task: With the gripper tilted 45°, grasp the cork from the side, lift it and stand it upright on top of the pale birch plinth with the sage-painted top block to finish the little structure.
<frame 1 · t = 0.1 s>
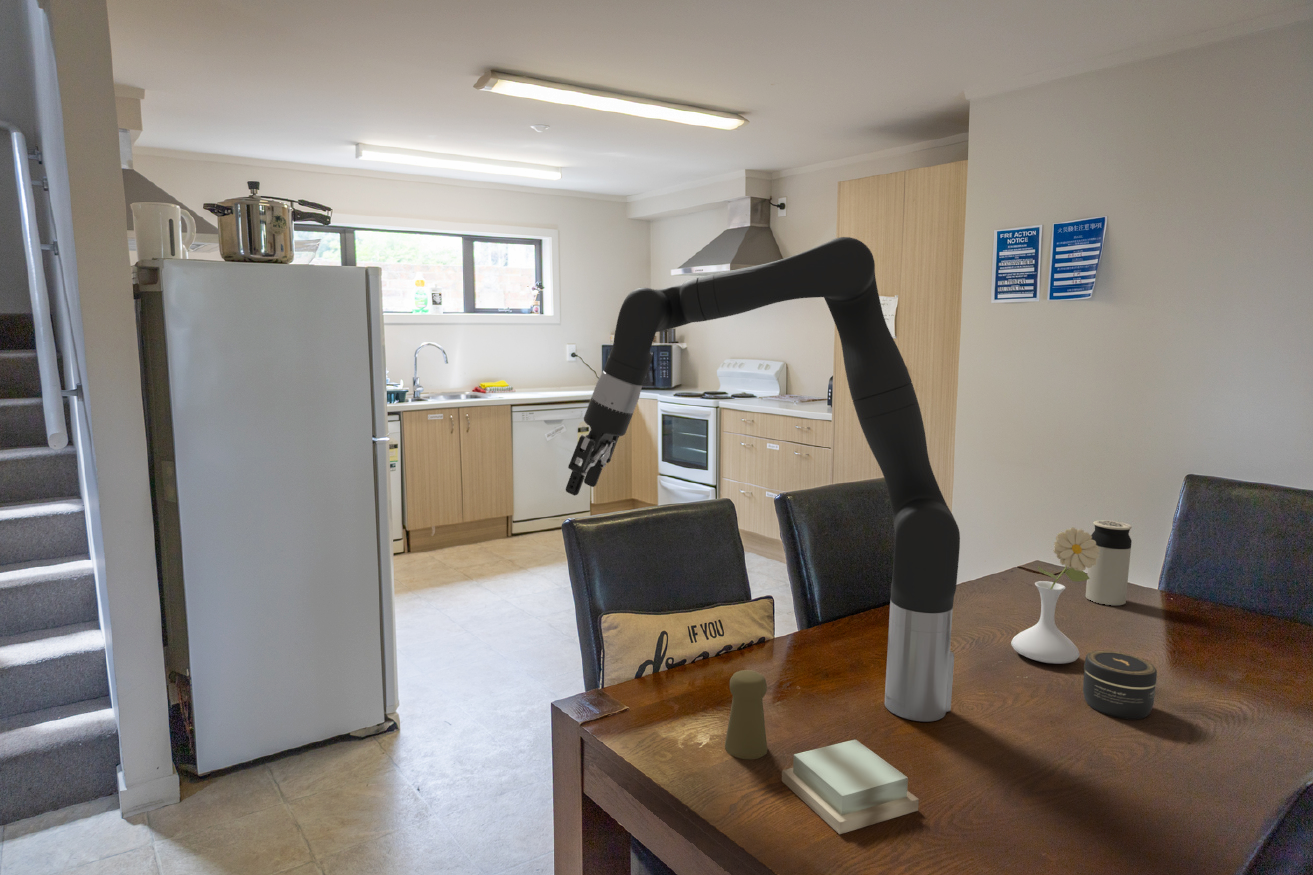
hand: (580, 489, 133), 31 cm above the table, tool tilted 20°, fingers open, 8 cm apart
plinth: (847, 795, 98), on the table
jar: (1116, 708, 124), on the table
cork: (745, 749, 109), on the table
flower in vase: (1048, 658, 143), on the table
travel mug: (1105, 601, 176), on the table
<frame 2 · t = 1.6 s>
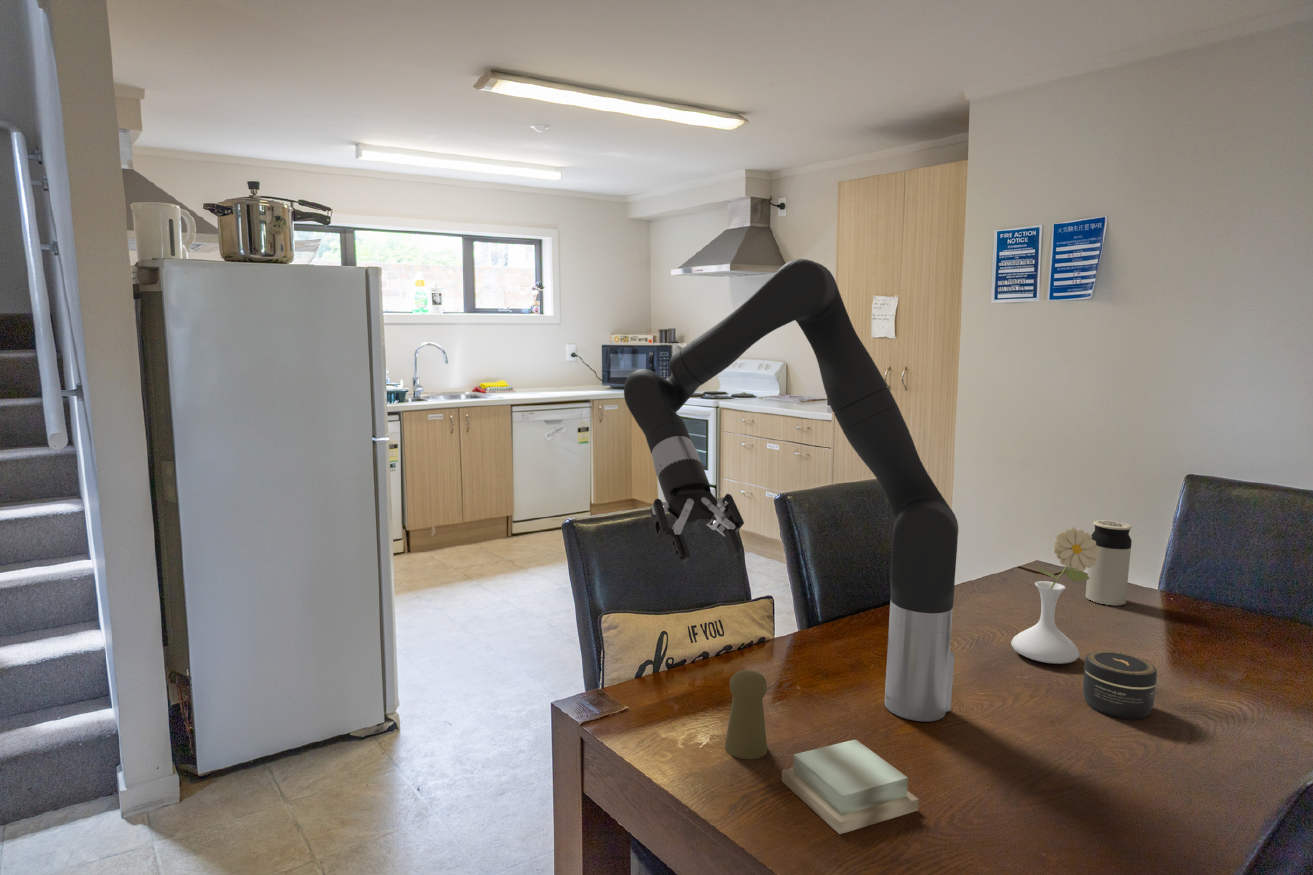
hand: (711, 557, 116), 25 cm above the table, tool tilted 45°, fingers open, 8 cm apart
nothing on the table moved.
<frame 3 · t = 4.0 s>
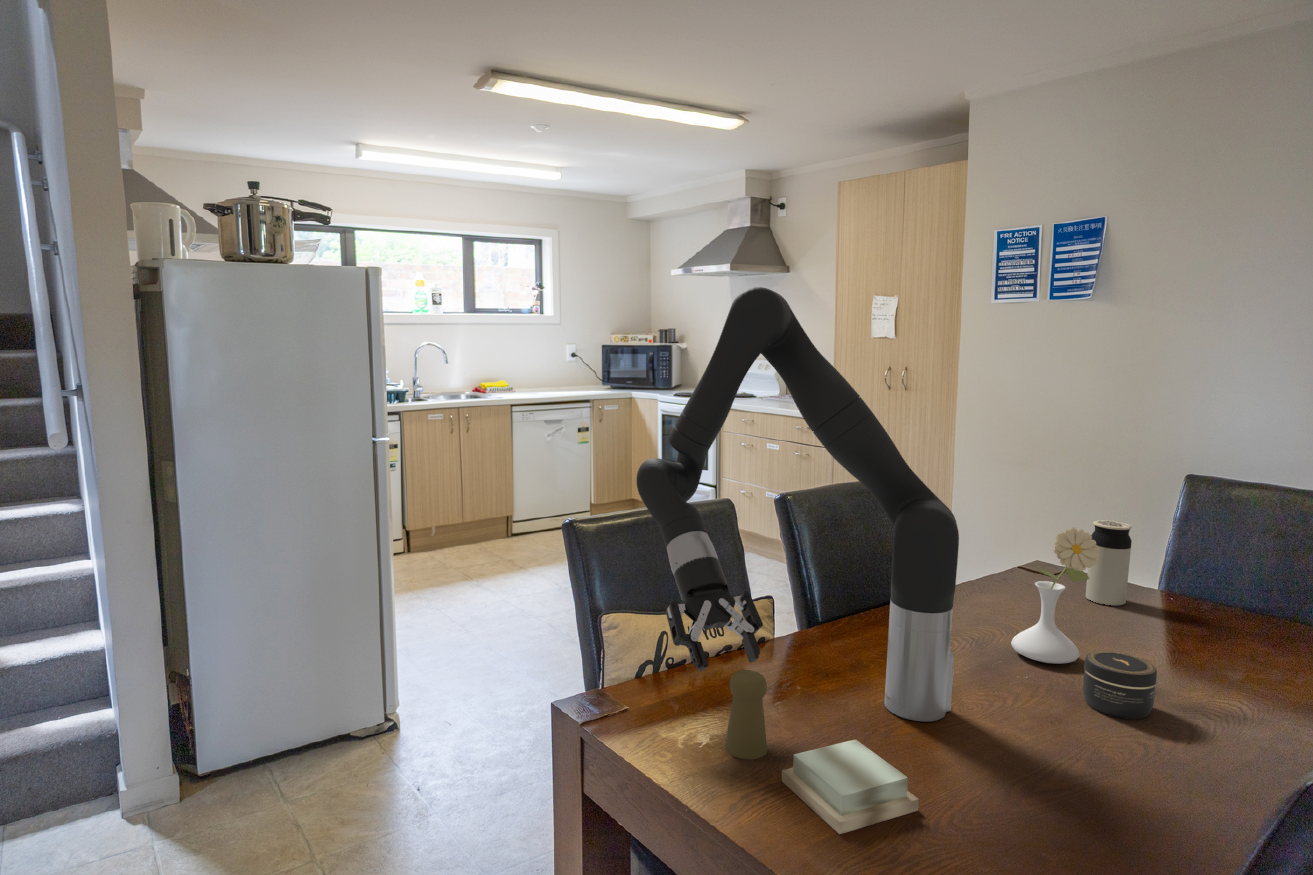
hand: (729, 664, 112), 10 cm above the table, tool tilted 45°, fingers open, 8 cm apart
nothing on the table moved.
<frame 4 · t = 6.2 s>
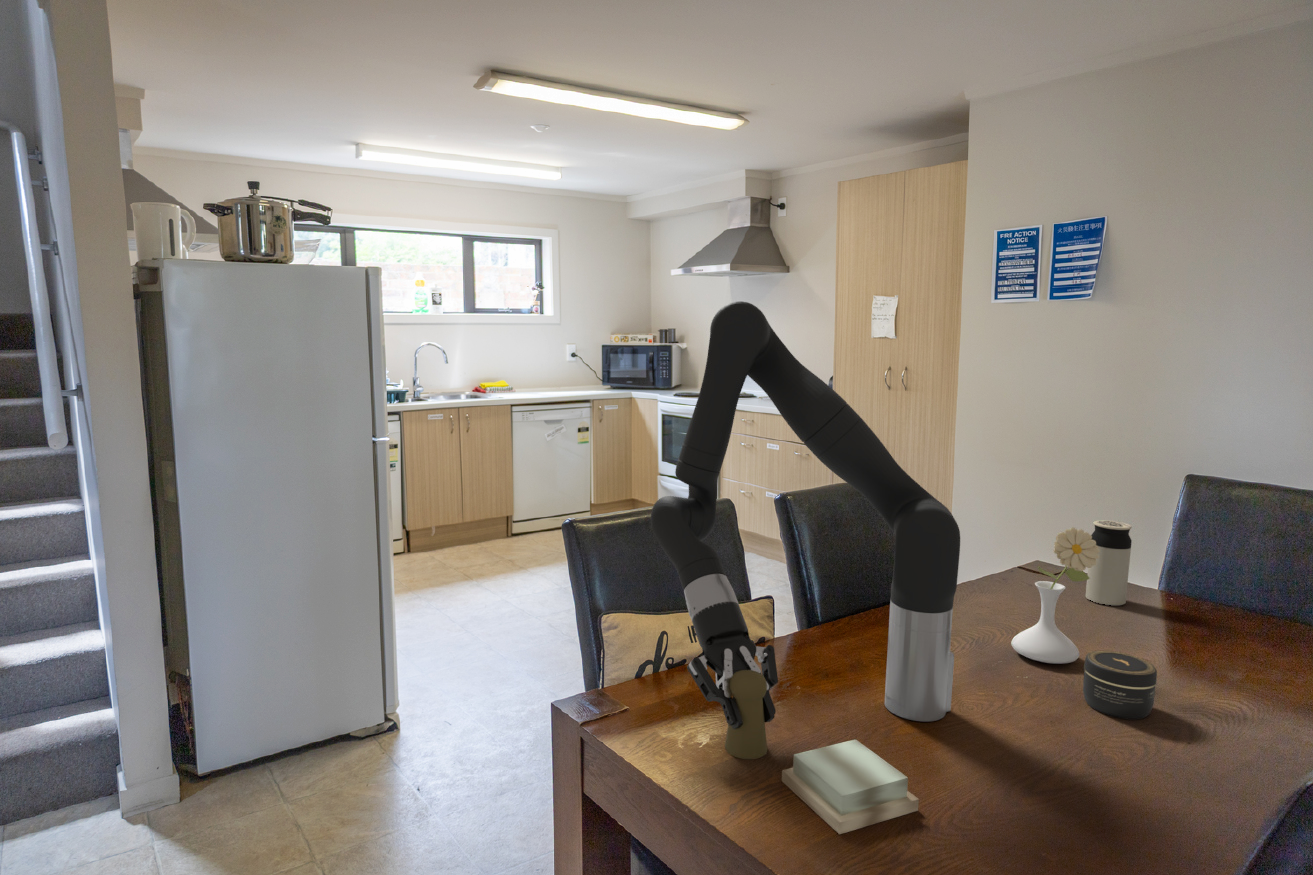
hand: (754, 722, 107), 5 cm above the table, tool tilted 45°, fingers closed on cork, 4 cm apart
cork: (745, 749, 109), on the table, touching gripper
everything else where it was.
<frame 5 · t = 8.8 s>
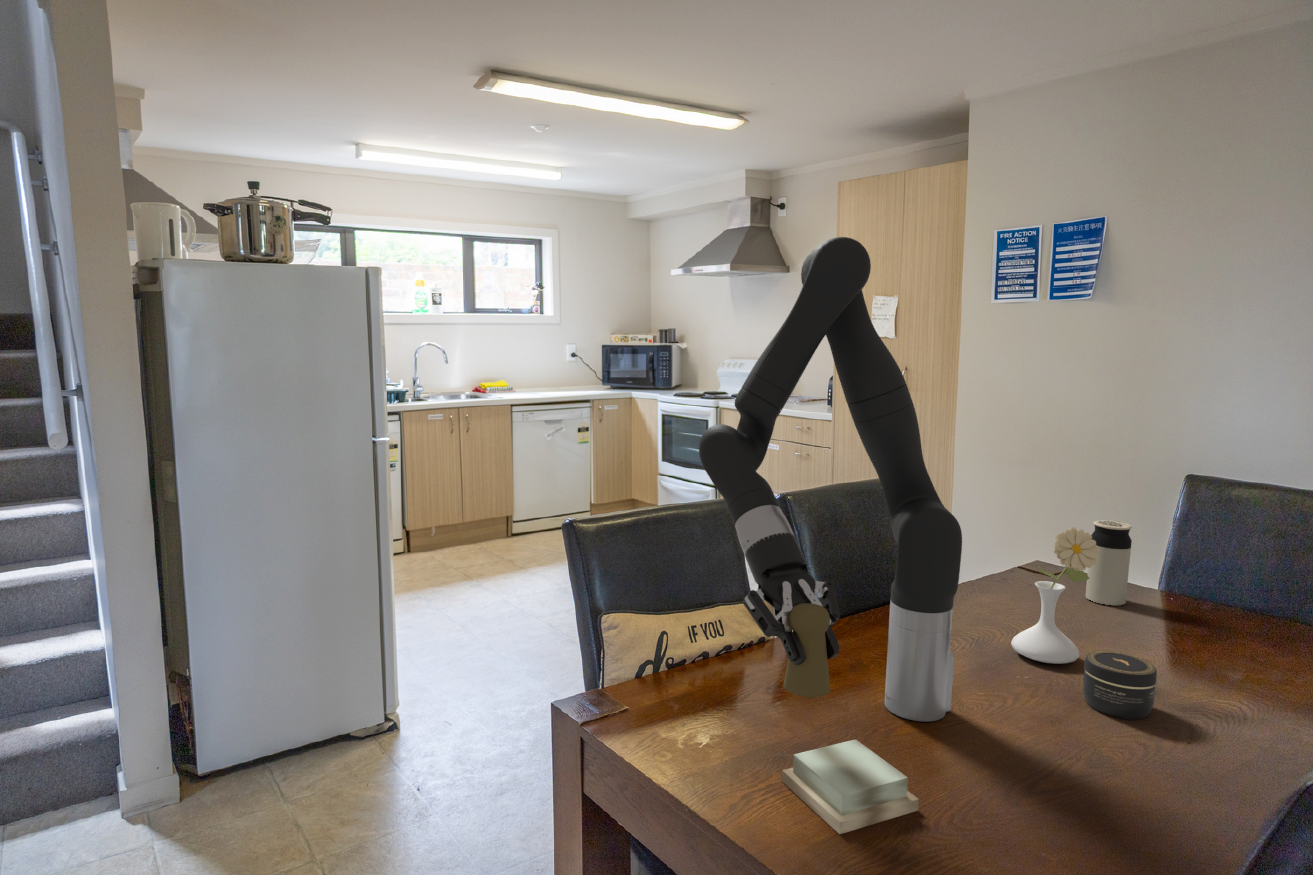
hand: (817, 658, 99), 17 cm above the table, tool tilted 45°, fingers closed on cork, 4 cm apart
cork: (806, 688, 101), point 12 cm above the table, touching gripper
everything else where it was.
when the fingers open (10 cm above the table, at t = 11.4 s): cork drops 1 cm, resting on plinth.
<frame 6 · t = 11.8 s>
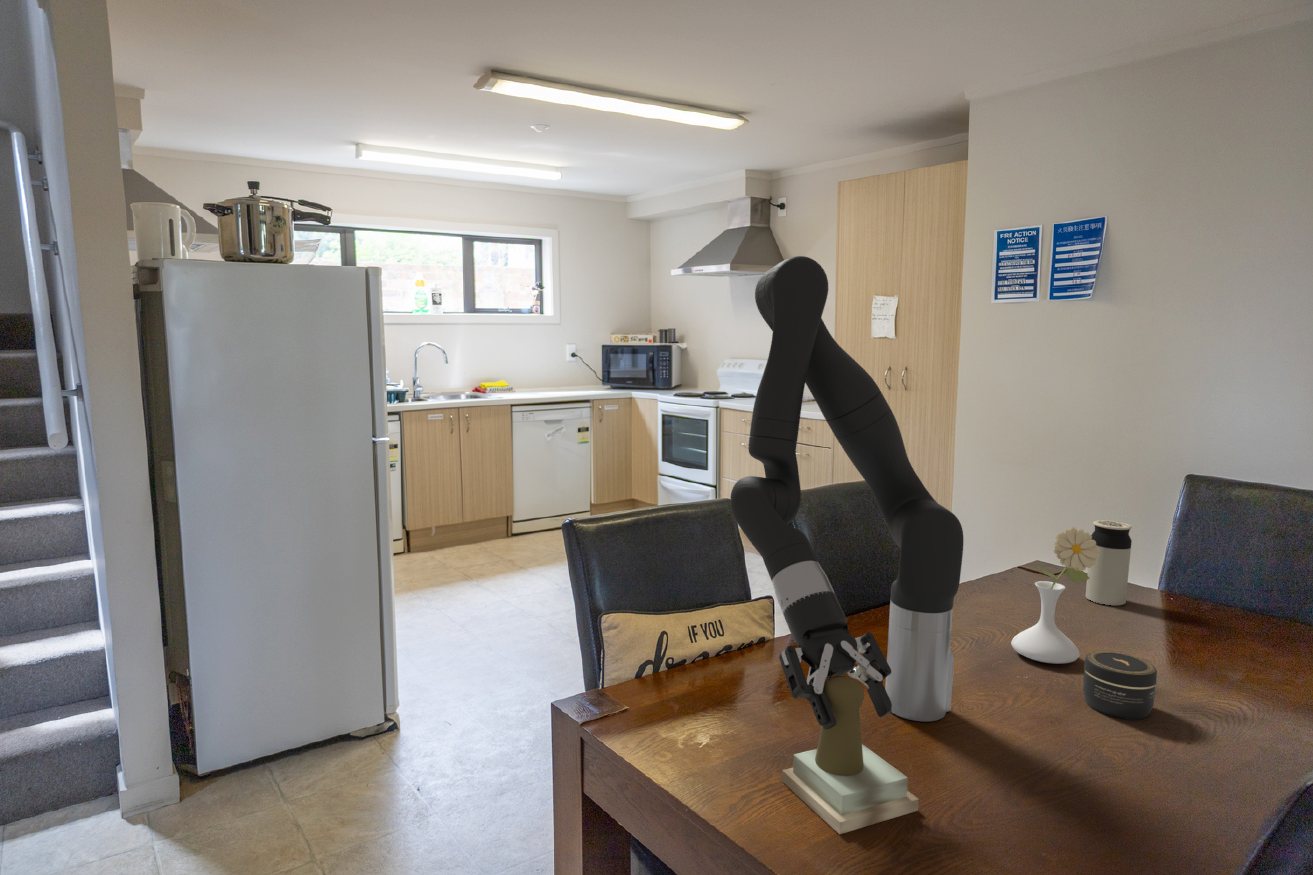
hand: (859, 720, 95), 11 cm above the table, tool tilted 45°, fingers open, 8 cm apart
cork: (839, 764, 98), point 4 cm above the table, touching plinth
everything else where it was.
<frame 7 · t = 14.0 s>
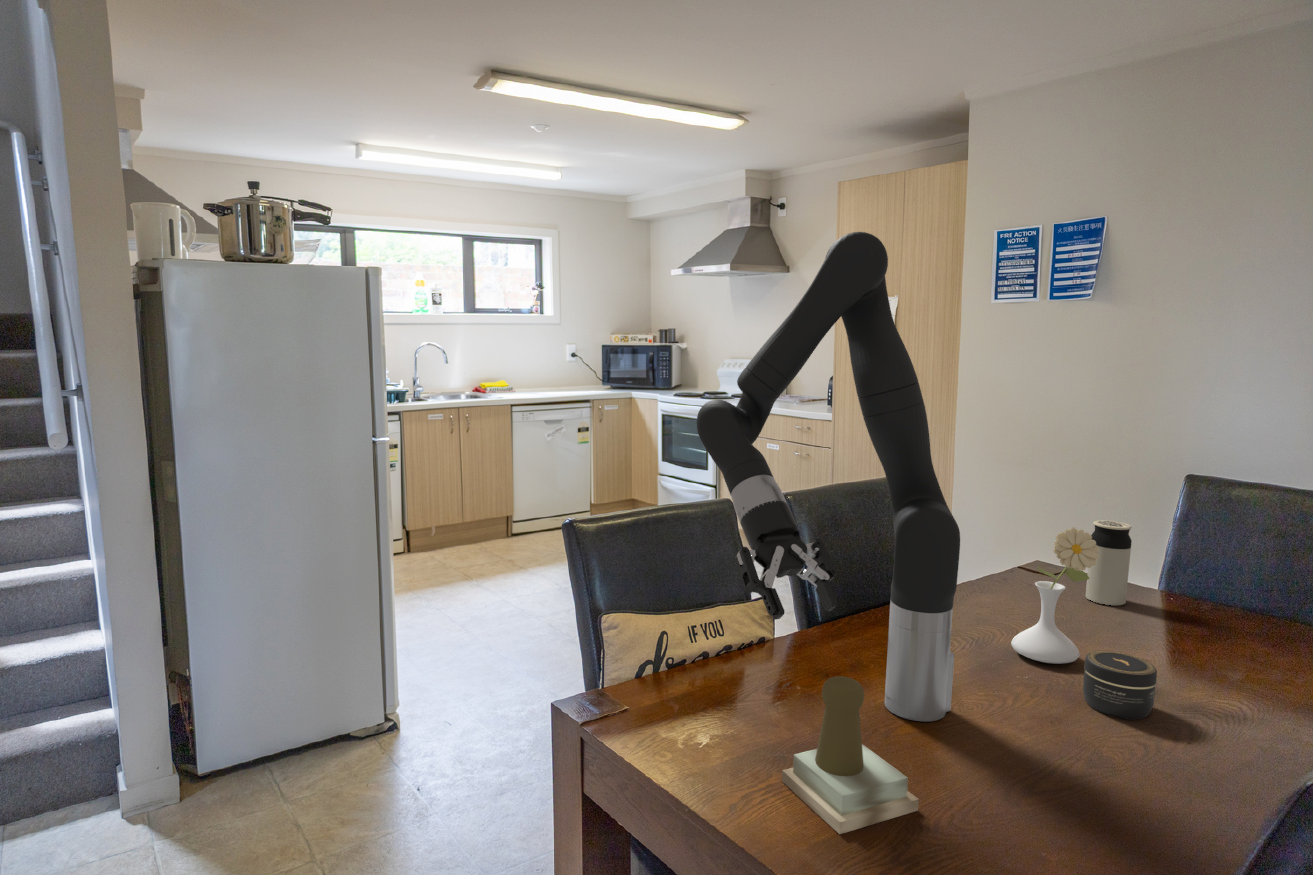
hand: (806, 612, 105), 21 cm above the table, tool tilted 45°, fingers open, 8 cm apart
nothing on the table moved.
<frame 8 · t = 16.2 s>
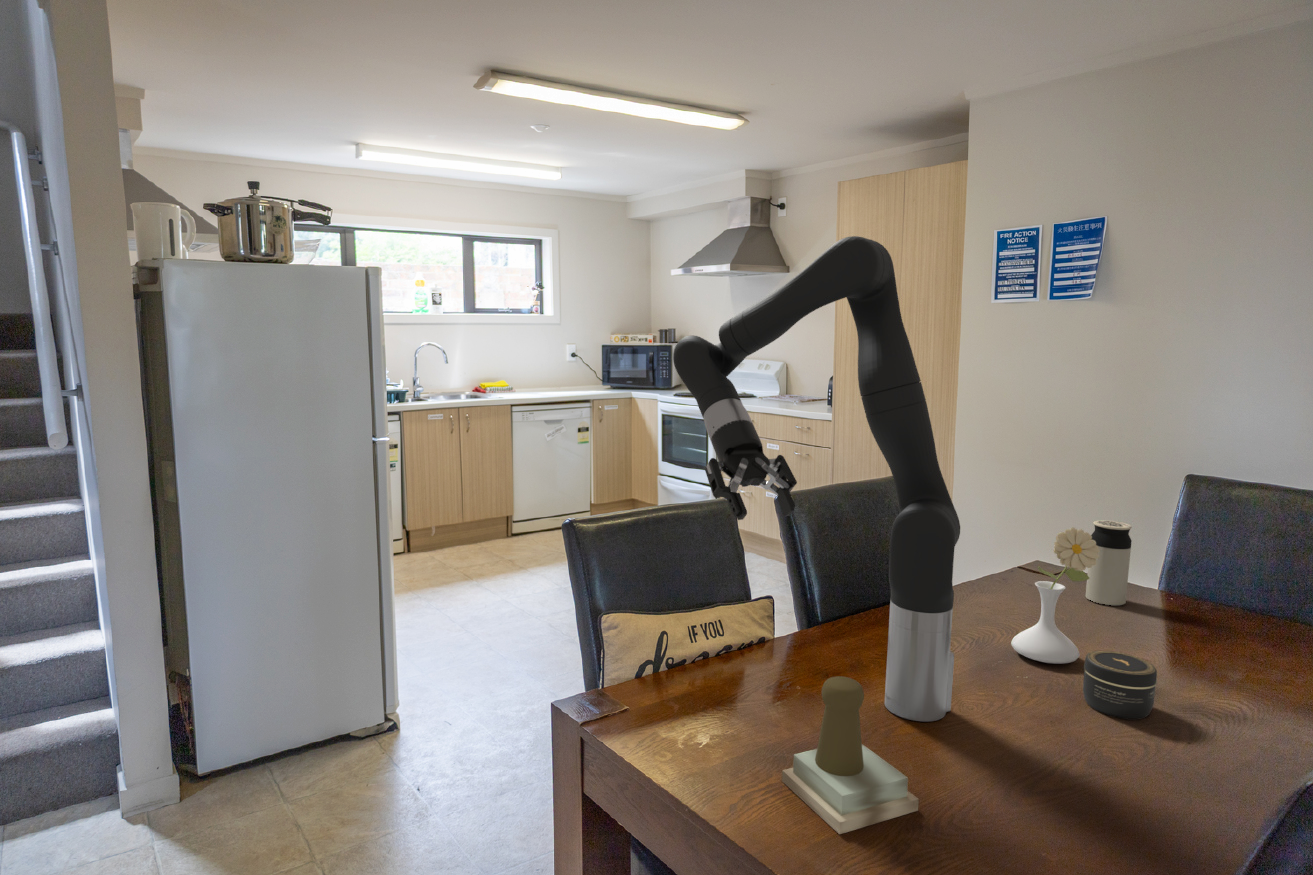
hand: (767, 515, 119), 31 cm above the table, tool tilted 45°, fingers open, 8 cm apart
nothing on the table moved.
at the end: cork inside the target area on the plinth (1.3 cm from its centre), point 3.8 cm above the plinth's base; cork tilted 0°; the gripper is holding nothing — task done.
